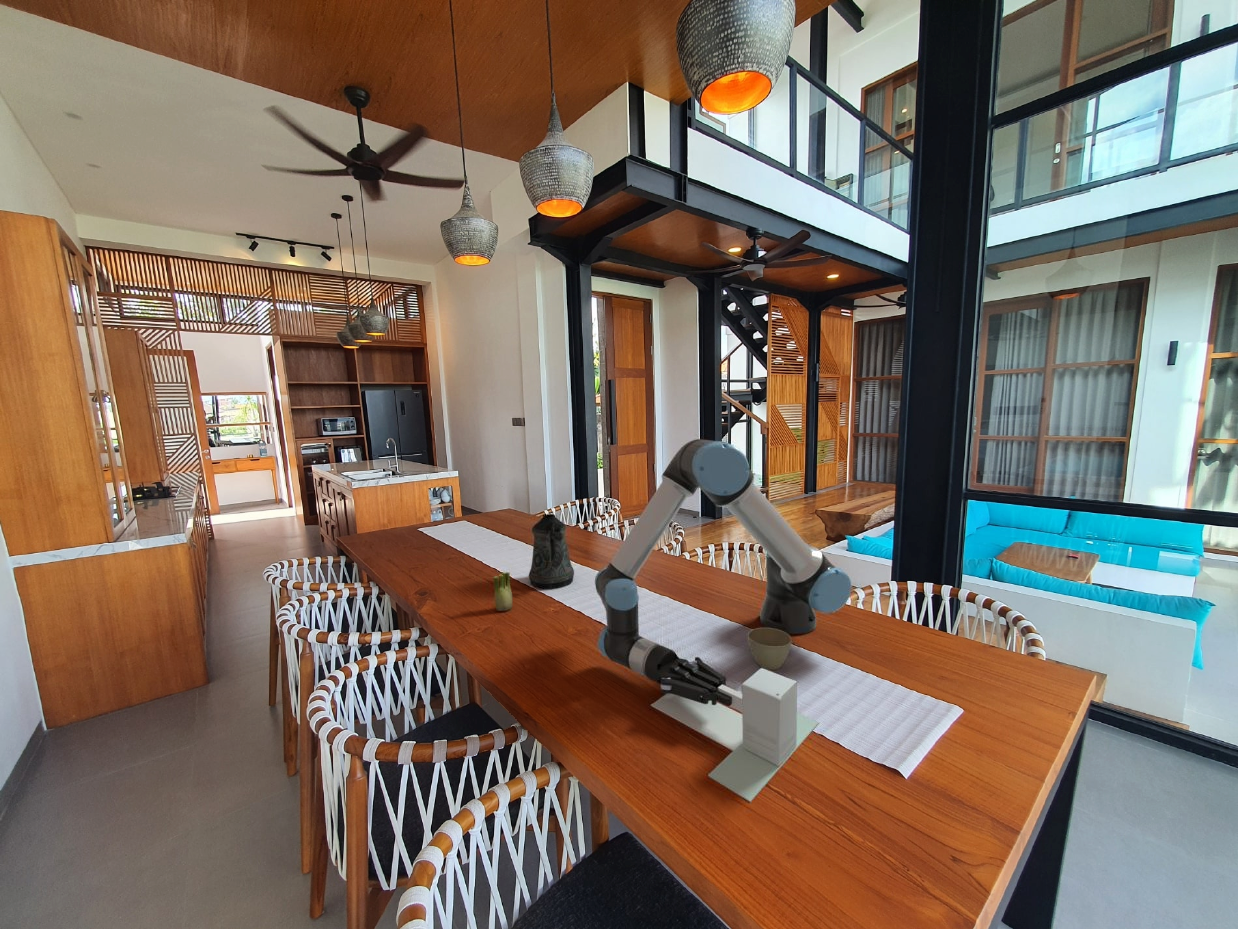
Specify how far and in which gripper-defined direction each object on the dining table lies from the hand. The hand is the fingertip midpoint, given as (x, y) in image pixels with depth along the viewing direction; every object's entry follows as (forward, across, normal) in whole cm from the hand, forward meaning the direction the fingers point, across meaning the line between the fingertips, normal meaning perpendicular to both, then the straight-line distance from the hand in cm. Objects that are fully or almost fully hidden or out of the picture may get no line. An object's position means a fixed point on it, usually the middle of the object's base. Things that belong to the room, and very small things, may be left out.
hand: (749, 706), depth 90 cm
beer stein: (-95, -26, -7) cm, 99 cm away
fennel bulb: (-88, 0, -7) cm, 88 cm away
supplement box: (+4, 0, -7) cm, 8 cm away
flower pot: (-10, -26, -7) cm, 29 cm away
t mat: (-6, 0, -7) cm, 9 cm away
